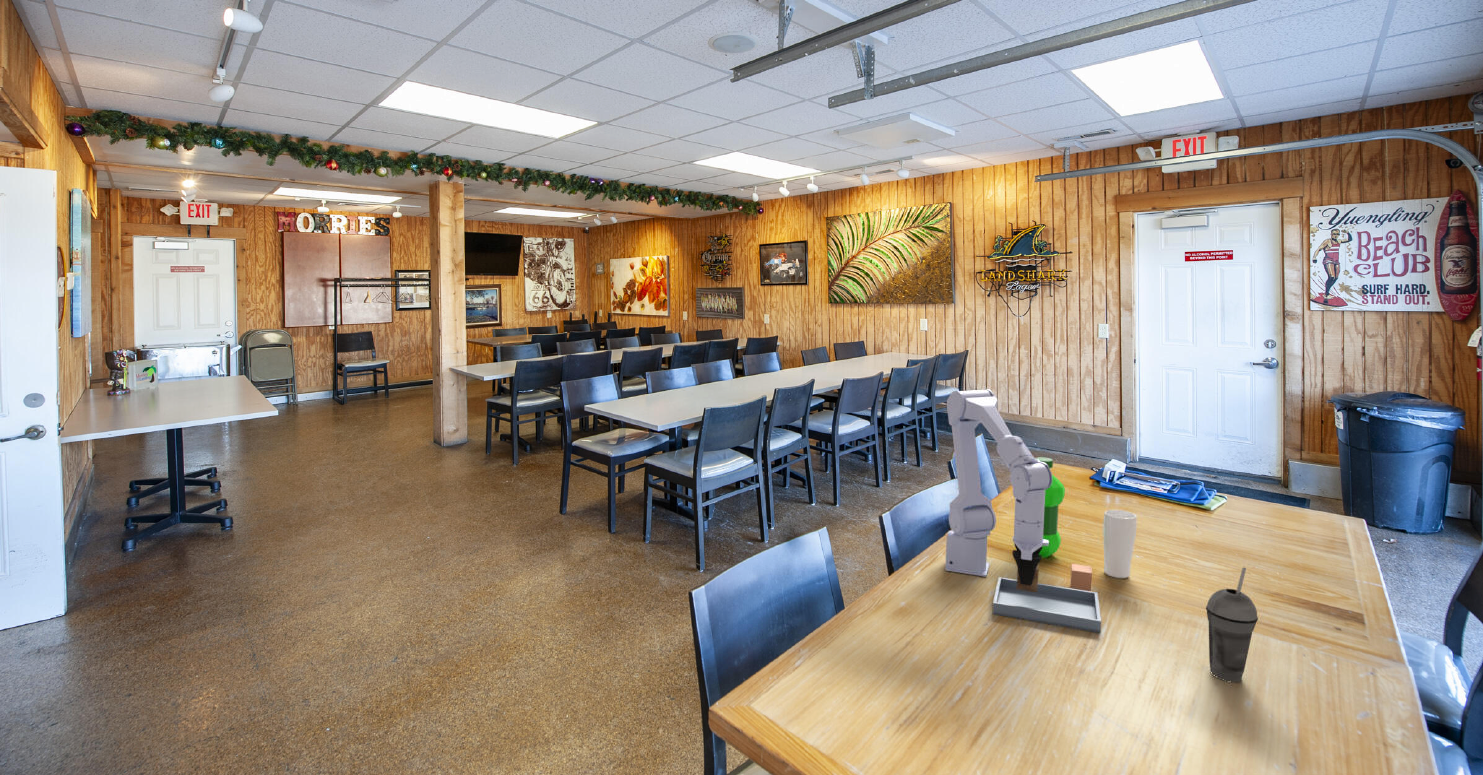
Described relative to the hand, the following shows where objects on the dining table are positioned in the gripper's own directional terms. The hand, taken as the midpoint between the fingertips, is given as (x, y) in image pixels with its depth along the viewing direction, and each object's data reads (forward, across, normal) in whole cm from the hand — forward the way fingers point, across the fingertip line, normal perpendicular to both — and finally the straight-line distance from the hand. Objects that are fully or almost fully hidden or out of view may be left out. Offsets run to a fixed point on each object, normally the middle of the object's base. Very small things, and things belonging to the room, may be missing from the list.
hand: (1026, 580), depth 142 cm
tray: (+6, 0, -4) cm, 7 cm away
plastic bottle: (+6, +32, -2) cm, 33 cm away
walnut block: (+2, 0, 0) cm, 2 cm away
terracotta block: (+6, +14, -11) cm, 18 cm away
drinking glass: (+6, +26, -19) cm, 32 cm away
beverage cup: (+6, -14, -33) cm, 37 cm away
